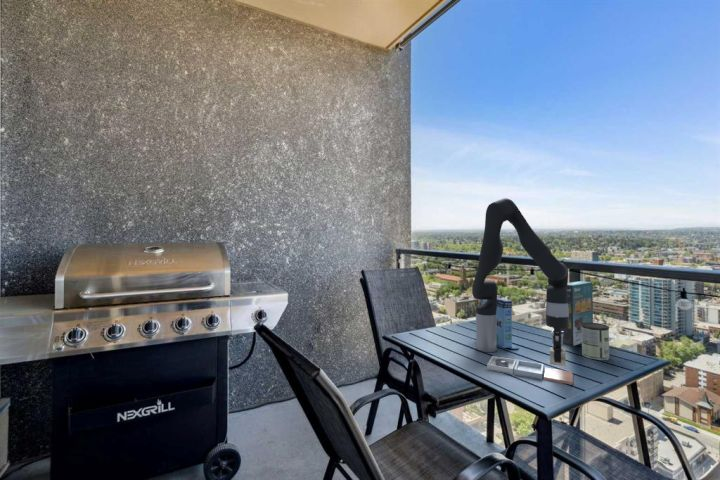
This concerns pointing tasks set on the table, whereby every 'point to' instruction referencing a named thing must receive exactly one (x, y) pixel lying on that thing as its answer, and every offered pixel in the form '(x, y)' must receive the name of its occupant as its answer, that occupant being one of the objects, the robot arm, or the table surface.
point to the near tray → (493, 367)
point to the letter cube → (561, 363)
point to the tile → (558, 376)
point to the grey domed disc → (502, 363)
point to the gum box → (503, 322)
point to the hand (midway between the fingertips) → (557, 358)
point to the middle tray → (529, 369)
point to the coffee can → (595, 341)
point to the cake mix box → (578, 310)
